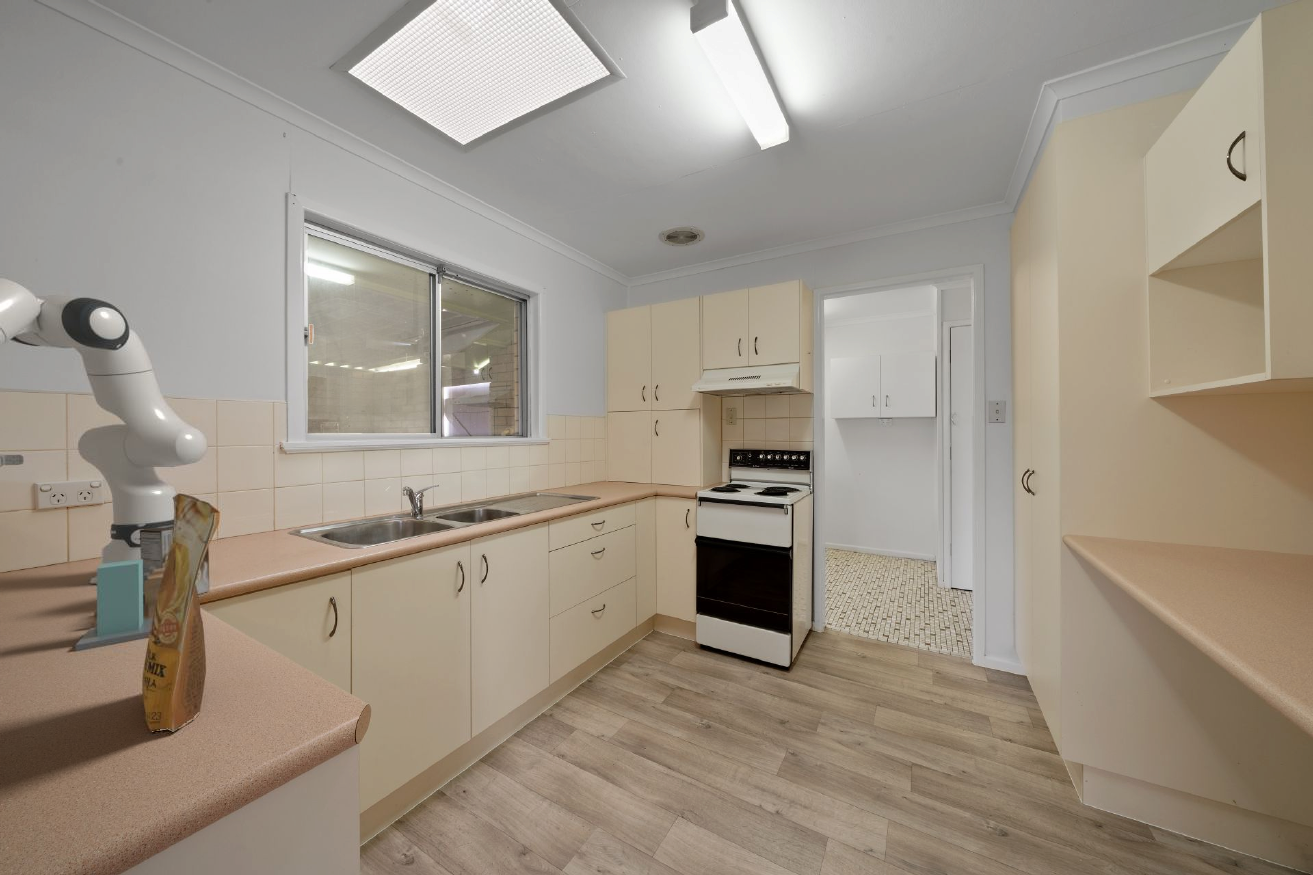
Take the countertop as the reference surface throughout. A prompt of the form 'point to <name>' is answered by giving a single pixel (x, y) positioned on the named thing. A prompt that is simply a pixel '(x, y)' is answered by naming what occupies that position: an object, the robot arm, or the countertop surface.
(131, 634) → the pad
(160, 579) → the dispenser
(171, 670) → the pancake mix bag
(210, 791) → the countertop surface
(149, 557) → the coffee box
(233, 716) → the countertop surface
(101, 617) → the tall teal pillar
